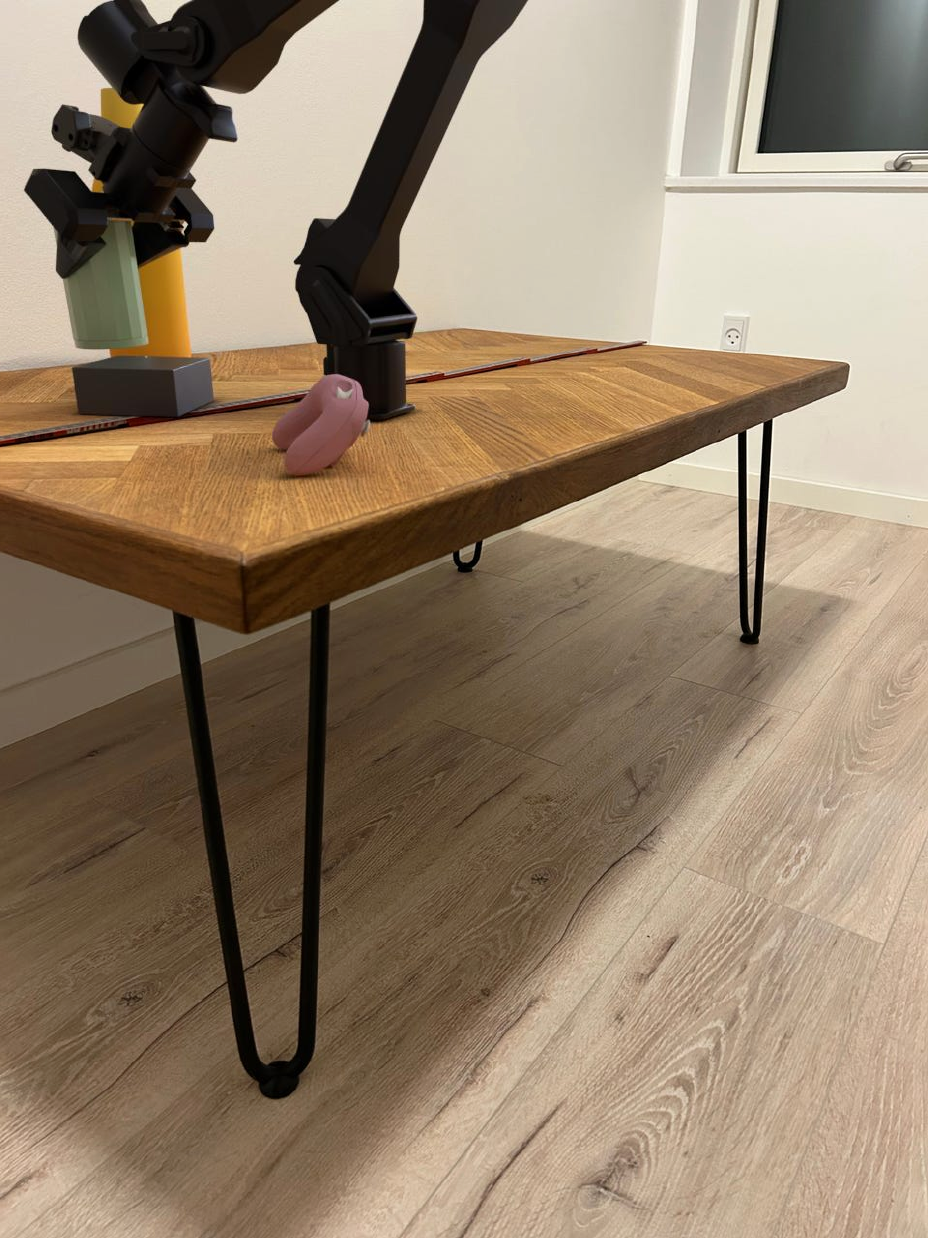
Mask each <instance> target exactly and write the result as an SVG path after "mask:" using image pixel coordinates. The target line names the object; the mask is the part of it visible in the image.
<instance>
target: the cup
mask: <svg viewBox="0 0 928 1238" xmlns="http://www.w3.org/2000/svg"><path fill="white" fill-rule="evenodd" d="M52 227H53V226H52ZM53 233H54V238H55V245H57V231H56V229H55V228H54V227H53ZM101 237H102V238H103V240H104V241H105V242H106V243H107V245H106V246H105V247H104V248H102V249H101V250H100V251H99V252H98V253H97V254H95V255H94V256H93V257H92V258H91V259H90V260H88V261H87V262H86V263H85V264H84V265H83V266H81V267H80V268H79V269H78V270H77V271H76V272H74V273H73V274H72V275H70V276H69V277H67V278H66V279H62V283H63V289H64V295H65V300H66V305H67V306H66V307H67V310H68V316H69V323H70V328H71V334H72V339H73V342H74V343H73V344H74V347H75V348H76V349H80V350H92V351H93V350H98V351H99V350H109V349H121V348H131V347H138V346H143V345H147V344H148V343H149V342H148V335H147V328H146V321H145V315H144V308H143V301H142V294H141V287H140V281H139V274H138V267H137V260H136V253H135V247H134V240H133V233H132V226H131V221H115V220H108V227H107V229H106V231H105V232H104V234H103V235H102V236H101Z"/></svg>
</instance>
